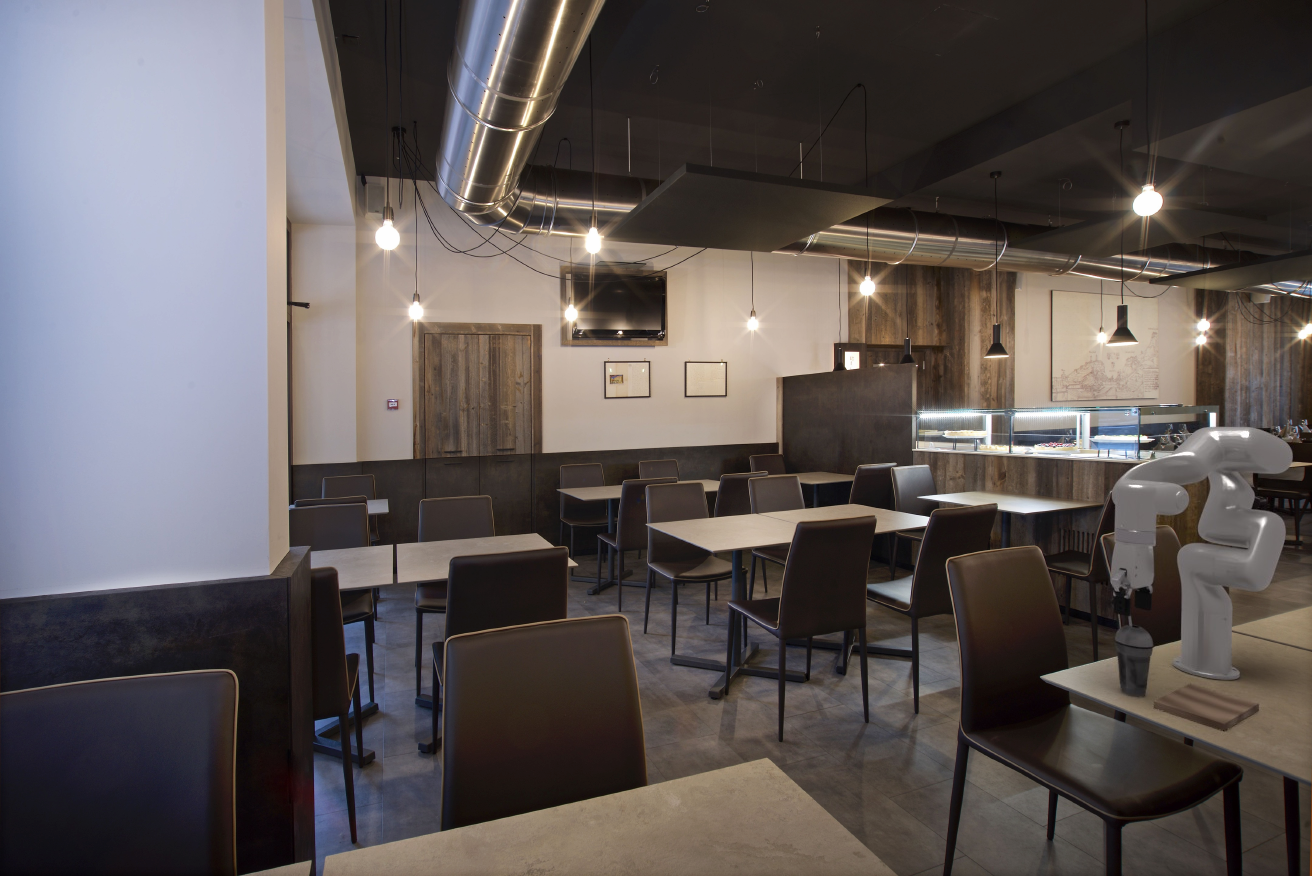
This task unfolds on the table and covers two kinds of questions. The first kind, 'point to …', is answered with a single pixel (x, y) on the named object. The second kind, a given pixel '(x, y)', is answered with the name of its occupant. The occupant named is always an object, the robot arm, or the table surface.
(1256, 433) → the robot arm
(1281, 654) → the table surface
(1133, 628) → the beverage cup
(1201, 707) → the serving board
